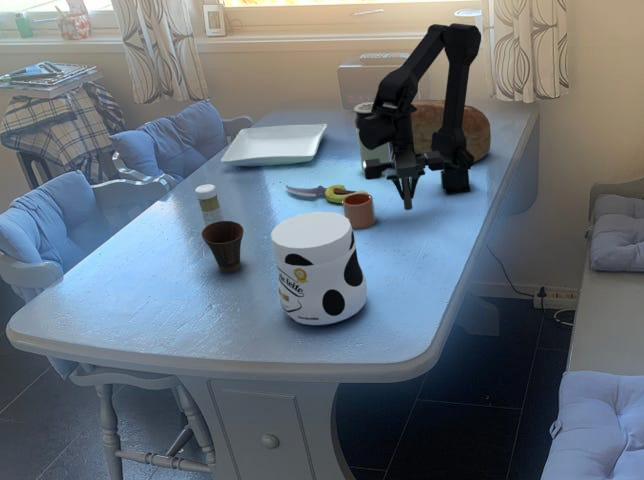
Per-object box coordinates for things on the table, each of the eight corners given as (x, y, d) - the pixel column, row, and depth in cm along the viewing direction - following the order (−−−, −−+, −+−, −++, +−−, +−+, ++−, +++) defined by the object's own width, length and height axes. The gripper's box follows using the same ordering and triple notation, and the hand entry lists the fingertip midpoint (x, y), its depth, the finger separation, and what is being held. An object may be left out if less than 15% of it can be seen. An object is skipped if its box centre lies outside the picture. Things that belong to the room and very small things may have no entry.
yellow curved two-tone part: (275, 198, 199) (360, 207, 191) (273, 189, 197) (359, 198, 189) (290, 186, 205) (374, 194, 197) (288, 177, 203) (372, 185, 195)
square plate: (317, 167, 215) (314, 154, 212) (222, 173, 216) (218, 160, 214) (329, 133, 236) (327, 121, 234) (243, 139, 238) (240, 127, 235)
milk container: (267, 327, 149) (246, 245, 139) (310, 283, 162) (294, 205, 151) (345, 340, 144) (330, 256, 133) (383, 293, 156) (372, 213, 146)
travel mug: (396, 172, 208) (389, 106, 197) (371, 180, 205) (362, 113, 194) (382, 163, 213) (373, 99, 203) (357, 171, 210) (347, 106, 199)
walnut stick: (411, 206, 185) (408, 175, 180) (413, 209, 184) (409, 178, 179) (403, 207, 185) (400, 176, 180) (404, 210, 183) (401, 179, 179)
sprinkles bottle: (226, 234, 184) (212, 182, 176) (231, 241, 181) (216, 188, 173) (207, 239, 183) (193, 186, 175) (211, 246, 179) (196, 193, 171)
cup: (233, 283, 164) (221, 242, 158) (204, 274, 168) (191, 234, 162) (261, 265, 170) (251, 224, 164) (232, 256, 174) (221, 217, 168)
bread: (414, 139, 227) (409, 91, 218) (497, 152, 214) (495, 101, 206) (391, 154, 219) (385, 104, 210) (476, 168, 206) (473, 115, 198)
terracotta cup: (373, 213, 188) (370, 191, 184) (376, 226, 182) (373, 203, 178) (344, 217, 187) (341, 195, 183) (346, 230, 181) (343, 207, 177)
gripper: (362, 153, 166) (372, 218, 175) (446, 142, 168) (451, 207, 177) (358, 136, 175) (367, 198, 184) (438, 125, 177) (443, 188, 186)
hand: (407, 198), depth 183 cm, fingers closed on walnut stick, 2 cm apart
